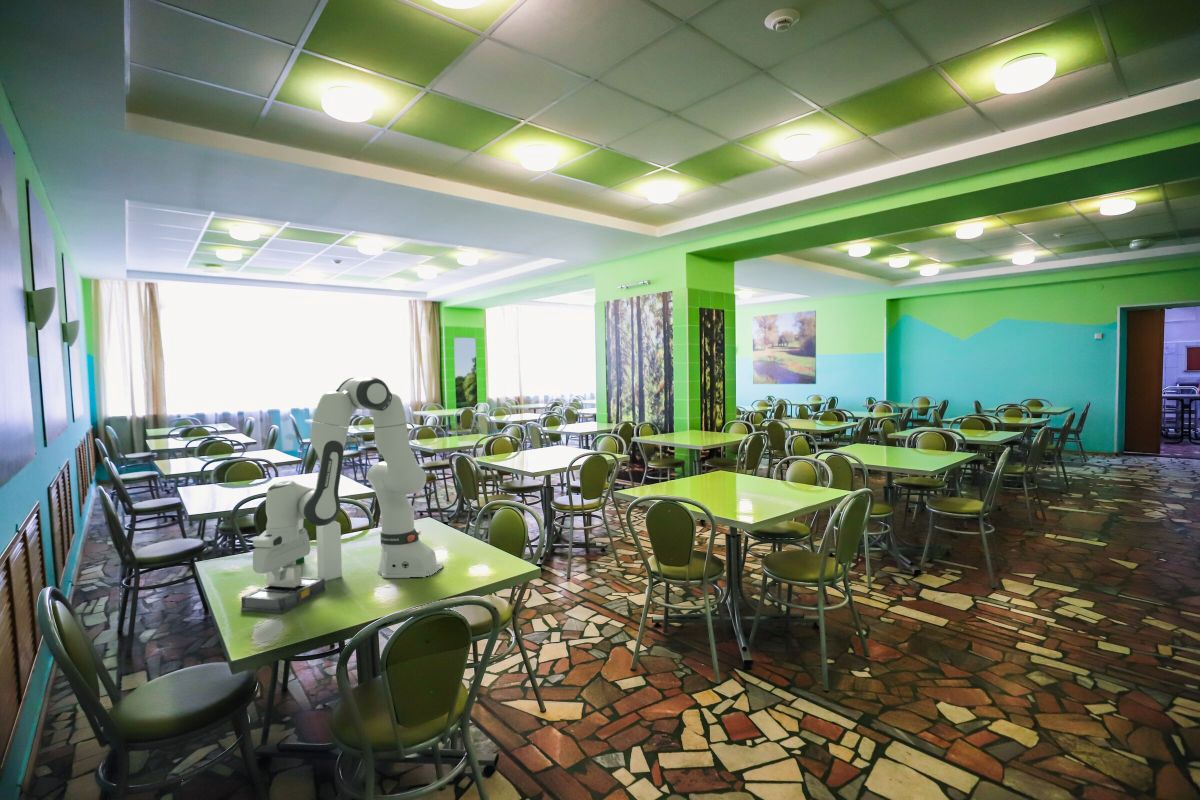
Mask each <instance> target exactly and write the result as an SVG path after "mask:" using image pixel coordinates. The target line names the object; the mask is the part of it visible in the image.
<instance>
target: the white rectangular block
mask: <svg viewBox="0 0 1200 800" xmlns="http://www.w3.org/2000/svg"><path fill="white" fill-rule="evenodd" d="M279 572H280V574H283V579H282V580H280V581H275V580H274V575H273V573H272V572H271V571H269V572H267V573H265V574H266V575H265V577H266V586H280V587H294V588H295V587H297V586H299V585H301V584H302V583H301V577H302V565H301V564H296V565H290V564H285V565H283V566H281V567H280V570H279Z"/></svg>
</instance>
